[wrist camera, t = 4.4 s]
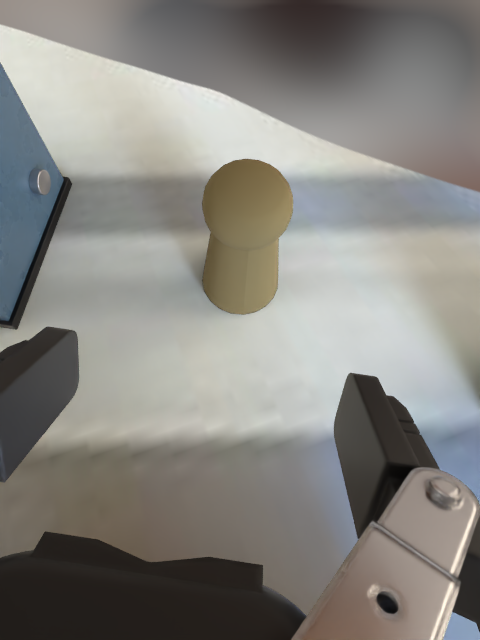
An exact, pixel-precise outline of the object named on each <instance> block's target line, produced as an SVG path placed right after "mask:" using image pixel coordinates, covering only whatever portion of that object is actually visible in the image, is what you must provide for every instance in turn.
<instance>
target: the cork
mask: <svg viewBox="0 0 480 640" xmlns="http://www.w3.org/2000/svg"><path fill="white" fill-rule="evenodd" d="M202 208H203V214H204V218H205V222H206V224H207V226H208V228H209V229H210V231H211V234H210V239H209V245H208V250H207V256H206V261H205V267H204V273H203V280H202V281H203V286H204V291H205V293H206V294H207V296H208V298H209V299H210V301H211V302H212V303H214V304H215V305H216V306H217V307H218V308H220V309H222V310H224V311H227V312H229V313H234V314H248V313H253V312H256V311H258V310H260V309H262V308H263V307H265V306H266V305H267V304H268V303H269V302H270V301H271V300H272V299H273V297H274V295H275V293H276V290H277V285H278V242H279V237H280V236H281V235H282V234H283V233H284V231H285V230H286V228H287V226H288V224H289V222H290V219H291V216H292V213H293V195H292V192H291V189H290V186H289V184H288V182H287V181H286V179H285V178H284V177H283V176H282V174H281V173H280V172H279V171H278V170H277V169H276V168H274V167H273V166H271V165H270V164H267V163H265V162H262V161H259V160H252V159H242V160H235V161H232V162H230V163H228V164H225V165H223V166H222V167H221V168H220V169H219V170H218V171H216V172H215V173H214V174H213V175H212V176H211V178H210V179H209V181H208V183H207V185H206V187H205V190H204V194H203V201H202Z"/></svg>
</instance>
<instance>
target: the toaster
mask: <svg viewBox="0 0 480 640" xmlns="http://www.w3.org/2000/svg"><path fill="white" fill-rule="evenodd" d="M71 185H72V183H71V181H70V179H69V178H68V177H62V175H61V173H60V172H59V170H58V168H57V166H56V164H55V162H54V160H53V159H52V157H51V155H50V153H49V151H48V149H47V148H46V146H45V144H44V142H43V140H42V138H41V137H40V135H39V133H38V131H37V129H36V127H35V125H34V124H33V122H32V120H31V118H30V116H29V114H28V113H27V111H26V109H25V107H24V105H23V103H22V102H21V100H20V98H19V96H18V94H17V92H16V90H15V89H14V87H13V85H12V83H11V81H10V79H9V78H8V76H7V74H6V72H5V70H4V68H3V67H2V65H1V63H0V327H4V328H11V329H17V328H18V325H19V323H20V320H21V318H22V315H23V312H24V310H25V307H26V304H27V302H28V299H29V296H30V294H31V291H32V288H33V286H34V283H35V281H36V278H37V275H38V273H39V270H40V267H41V265H42V262H43V259H44V257H45V254H46V251H47V249H48V246H49V244H50V241H51V238H52V236H53V233H54V230H55V228H56V225H57V222H58V220H59V217H60V214H61V212H62V209H63V207H64V204H65V201H66V199H67V196H68V193H69V191H70V188H71Z"/></svg>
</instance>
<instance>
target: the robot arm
mask: <svg viewBox="0 0 480 640" xmlns="http://www.w3.org/2000/svg"><path fill="white" fill-rule="evenodd" d="M78 383H79V360H78V338H77V334H76V332H75V331H73V330H67V329H61V328H54V327H46V328H44V329H43V330H42V331H40V332H39V333H38V334H36V335H35V336H34V337H33V338H31V339H30V340H29V341H28V340H25V341H22V342H20V343H17V344H15V345H12V346H10V347H7V348H6V349H4V350H3V351H2V352H0V482H5V481H6V480H7V479H8V478H9V476H10V475H11V474H12V473H13V471H14V470H15V469H16V468H17V467H18V465H19V464H20V463H21V462H22V460H23V459H24V458H25V457H26V455H27V454H28V453H29V452H30V450H31V449H32V448H33V447H34V445H35V444H36V443H37V442H38V440H39V439H40V438H41V437H42V435H43V434H44V433H45V432H46V430H47V429H48V428H49V427H50V425H51V424H52V423H53V422H54V420H55V419H56V418H57V417H58V415H59V414H60V413H61V412H62V410H63V409H64V408H65V407H66V405H67V404H68V403H69V402H70V400H71V399H72V398H73V396H74V395H75V393H76V390H77V387H78ZM419 433H420V432H419V430H418V428H417V426H416V425H415V424H414V421H413V419H412V417H411V415H410V414H409V412H408V410H407V408H406V407H404V406H403V405H402V404H401V403H400V402H399V401H398V400H397V399H396V398H395V397H394V396H387V395H386V394H385V392H384V390H383V388H382V386H381V384H380V382H379V380H378V378H377V377H375V376H368V375H362V374H355V373H350V374H349V375H348V376H347V379H346V382H345V385H344V389H343V392H342V396H341V399H340V403H339V406H338V410H337V413H336V417H335V422H334V438H335V442H336V447H337V451H338V455H339V459H340V464H341V468H342V472H343V477H344V481H345V485H346V489H347V494H348V498H349V502H350V506H351V511H352V515H353V519H354V524H355V528H356V532H357V536H358V539H359V540H358V541H357V543H356V544H355V546H354V547H353V549H352V550H351V552H350V553H349V555H348V556H347V558H346V559H345V561H344V562H343V564H342V565H341V567H340V568H339V570H338V571H337V573H336V574H335V575H334V577H333V578H332V580H331V581H330V583H329V584H328V586H327V587H326V589H325V590H324V592H323V593H322V595H321V596H320V598H319V599H318V601H317V602H316V604H315V605H314V607H313V608H312V609H311V611H310V612H309V614H308V615H307V616H306V615H305V614H304V613H303V612H302V611H301V610H300V609H299V608H298V607H296V606H295V605H294V604H293V603H292V602H290V601H289V600H288V599H286V598H285V597H284V596H282V595H281V594H279V593H277V592H276V591H274V590H272V589H270V588H268V587H266V586H264V585H262V584H263V565H258V564H251V563H245V562H238V561H232V560H226V559H219V558H213V557H204V558H193V559H183V560H173V561H163V562H147V561H144V560H142V559H140V558H137V557H135V556H133V555H131V554H129V553H126V552H124V551H122V550H120V549H118V548H115V547H113V546H111V545H109V544H107V543H104V542H102V541H100V540H97V539H90V538H84V537H77V536H71V535H64V534H58V533H52V532H44V534H43V536H42V537H41V539H40V541H39V542H38V544H37V546H36V548H35V549H34V550H32V551H25V552H20V553H16V554H11V555H8V556H5V557H2V558H0V640H443V638H444V635H445V632H446V629H447V626H448V623H449V619H450V616H451V613H452V612H454V613H456V614H459V615H461V616H463V617H465V618H467V619H469V620H471V621H473V622H475V623H476V624H477V626H478V629H479V631H480V505H479V502H478V500H477V498H476V496H475V495H474V494H473V492H472V491H471V490H470V489H469V488H468V487H467V486H466V485H465V484H464V483H462V482H461V481H460V480H458V479H457V478H455V477H454V476H452V475H450V474H448V473H446V472H444V471H441V470H440V469H439V467H438V465H437V463H436V461H435V459H434V458H433V456H432V454H431V452H430V450H429V448H428V447H427V445H426V443H425V441H424V439H423V437H422V436H421V435H420V434H419Z"/></svg>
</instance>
